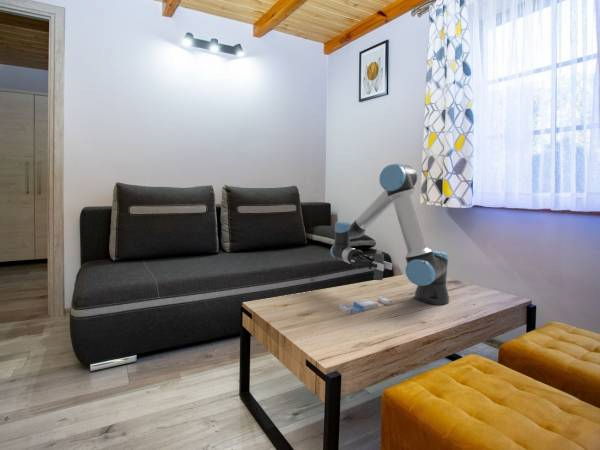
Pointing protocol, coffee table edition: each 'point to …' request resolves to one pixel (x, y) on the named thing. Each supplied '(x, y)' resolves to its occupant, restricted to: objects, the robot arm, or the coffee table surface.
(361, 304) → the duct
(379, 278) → the cable plug
